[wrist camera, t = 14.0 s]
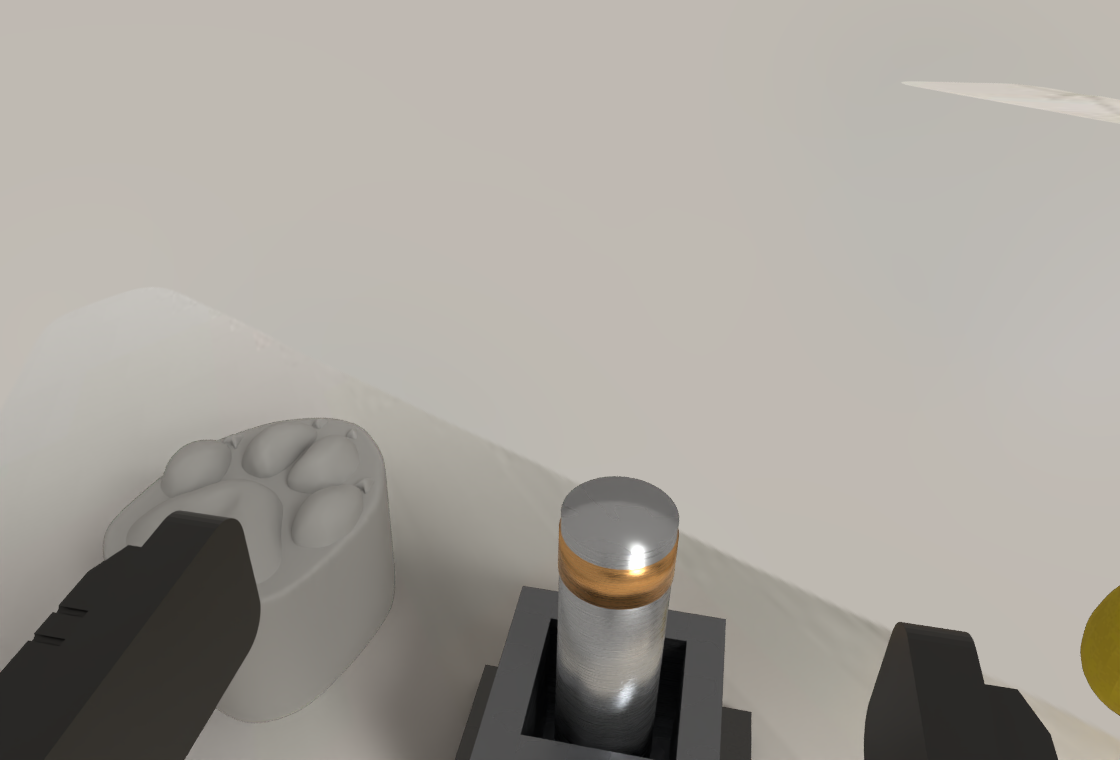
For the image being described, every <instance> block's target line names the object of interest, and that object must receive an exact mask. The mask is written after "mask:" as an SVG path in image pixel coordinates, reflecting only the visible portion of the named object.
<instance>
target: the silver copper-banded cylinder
mask: <svg viewBox="0 0 1120 760" xmlns="http://www.w3.org/2000/svg"><path fill="white" fill-rule="evenodd" d="M678 525H679V514H678V510H677V507H676V506H675V504H674V502H673V501H672V499H671V498H670V497H669V496H668V495H667V494H666V493H664V492H663V491H662V490H661V489H659V488H657V487H656V486H654V485H652V484H650V483H647V482H645V481H642V480H638V479H634V478H629V477H615V476H614V477H603V478H597V479H593V480H590V481H587V482H585V483H583V484H581V485H579V486H577V487H576V488H574V489H573V490H572V491H571V492H570V493H569V494H568V495H567V496H566V498H565V500H564V502H563V504H562V509H561V519H560V523H559V547H558V570H559V599H558V632H557V665H556V697H555V730H554V741H558V742H563V743H568V744H573V745H579V746H584V747H589V748H595V749H600V750H605V751H611V752H616V753H621V754H627V755H632V756H637V757H643V758H648V759H650V752H651V744H652V736H653V728H654V720H655V711H656V703H657V695H658V687H659V679H660V671H661V663H662V655H663V647H664V639H665V630H666V622H667V614H668V606H669V598H670V590H671V583H672V581H673V577H674V571H675V563H676V555H677V547H678V539H679V530H678Z"/></svg>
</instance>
